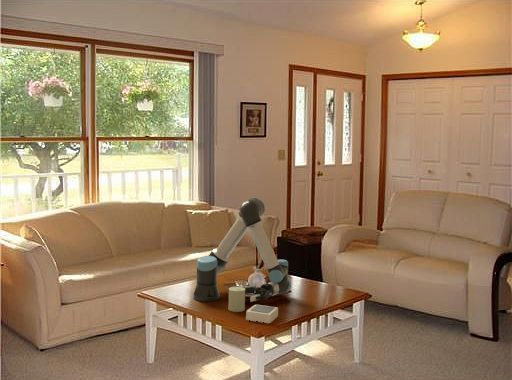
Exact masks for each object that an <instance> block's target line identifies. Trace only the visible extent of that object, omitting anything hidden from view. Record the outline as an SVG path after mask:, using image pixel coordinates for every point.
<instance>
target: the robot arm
mask: <svg viewBox="0 0 512 380" xmlns="http://www.w3.org/2000/svg"><path fill="white" fill-rule="evenodd" d="M265 211H266V206H265V202H264V201H263V200H262V199H260V198H259V197H251V198H248V199H247V200H245V201H244V202H243V203H241V205H240V207H239V211H238V213H237V215H238V218H237V219H236V220H235V222H234V223H233V225H232V226H231V227H230V229H229V230H228V232H227V233H226V234H225V236H224V238H223V239H222V240H221V242H220V243H219V245H218V246H217V247H216V248H213V249H212V250H211V251H210V253H209V254H208V255H204V256H201V257H199V258H198V259H197V260H196V286H195V288H194V292H193V296H192V297H193V299H194V301H197V302H214V301H215V302H216V301H218V300H219V299H220V290H219V288H218V284H217V283H218V280H217V279H218V275H219V274H220V273H222V272H223V271H224V270H225V268H226V266H227V264H228V263H229V261H230V257H229V256H230V255H232V253H233V251H234V249H235V248H236V247H237V245H238V244H239V243H240V241H241V240H242V238H243V237H244V236H245V234H246V233H247V231H249V233H250V235H251V237H252V239H253V242H254V244H255V246H256V248H257V250H258V252H259V255H260V257H261V259H262V261H263V264H264V266H265V268H266V271H267V272H268V278H269V279H268V280H269V281H270V282H267V283H263V284H262V285H261V286H259V287H258V286H246V287H243V288H245V294H253V295H252V296H250V297H249V299H250V303H251V302H256V301H260V300H261V301H262V300H263V301H267V299H268V298H269V297H273V296H276V295H279V294H285V293H287V292H289V291H290V290H292V284H291V281H290V279H288V277H289V276H288V274H289V261H288V260H286V259H281V258H280V259H278V258H277V256H276V254H275V251H274V250H273V247H272V245H271V243H270V241H269V237H268V236H267V233H266V231H265V229H264V227H263V225H262V223H263V222H262V218H261V216H263V214H264V213H265Z"/></svg>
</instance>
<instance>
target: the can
mask: <svg viewBox="0 0 512 380" xmlns="http://www.w3.org/2000/svg"><path fill="white" fill-rule="evenodd" d="M245 303H246V293H245V288H244V287H243V286H230V287H229V288H228V308H227V310H228V311H230V312H234V313H238V312H239V313H240V312H244V311H245V310H246V304H245Z"/></svg>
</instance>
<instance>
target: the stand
mask: <svg viewBox="0 0 512 380" xmlns="http://www.w3.org/2000/svg"><path fill="white" fill-rule="evenodd" d="M245 314H246V315H245V320H246V321H249V320H250V321H251V322H256V321H258V323H263V322H264V324H269V323H270V324H271V323H272V322H273V321H274V320H275V319H277V317H279V307H276V306H269V305H261V304H254V305H252V306H251V307H250V308H248V309H247V310H246V312H245Z"/></svg>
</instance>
